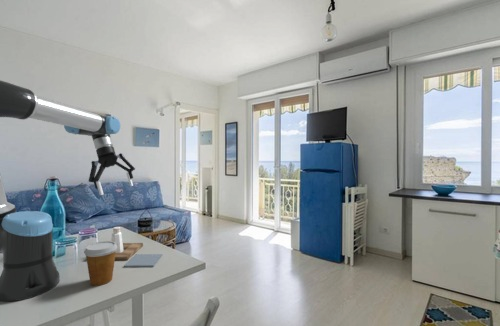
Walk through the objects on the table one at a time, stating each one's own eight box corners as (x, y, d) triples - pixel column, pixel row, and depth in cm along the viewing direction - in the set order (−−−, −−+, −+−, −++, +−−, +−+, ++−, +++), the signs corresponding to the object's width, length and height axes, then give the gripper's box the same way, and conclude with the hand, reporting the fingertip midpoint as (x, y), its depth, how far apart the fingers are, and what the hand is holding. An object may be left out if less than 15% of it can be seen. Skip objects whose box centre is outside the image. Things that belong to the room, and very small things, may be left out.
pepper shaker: (114, 256, 105) (113, 230, 105) (107, 253, 108) (106, 227, 108) (126, 252, 109) (126, 226, 109) (119, 249, 112) (119, 225, 112)
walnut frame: (127, 260, 101) (127, 256, 101) (86, 260, 100) (86, 256, 100) (142, 246, 117) (142, 242, 117) (107, 246, 116) (107, 243, 116)
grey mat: (153, 266, 95) (153, 265, 95) (123, 267, 94) (123, 265, 94) (162, 255, 106) (162, 254, 106) (135, 255, 105) (135, 254, 105)
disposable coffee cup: (103, 272, 90) (103, 239, 90) (124, 277, 87) (123, 242, 87) (77, 285, 81) (76, 248, 81) (99, 290, 78) (98, 252, 78)
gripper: (133, 142, 126) (145, 182, 125) (80, 156, 121) (92, 198, 120) (129, 139, 119) (141, 181, 118) (72, 154, 114) (85, 199, 113)
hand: (116, 190), depth 119 cm, fingers open, 13 cm apart
